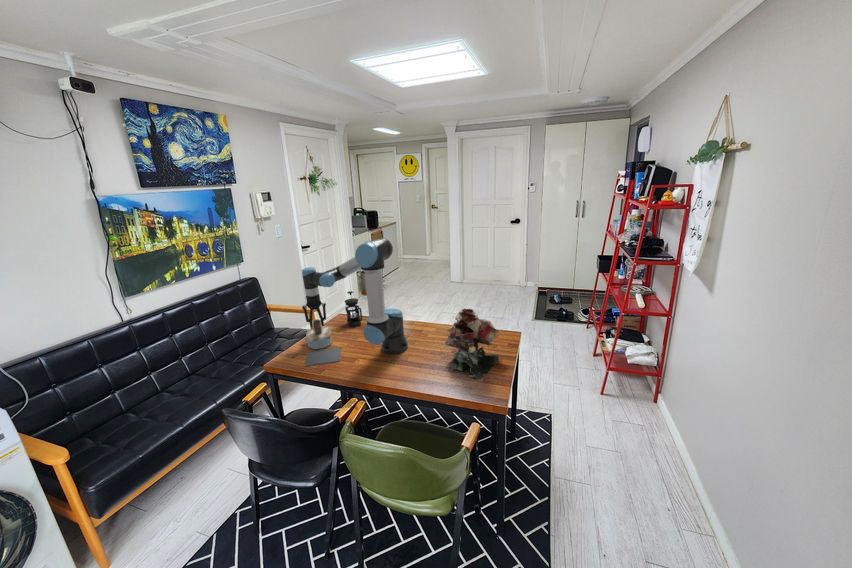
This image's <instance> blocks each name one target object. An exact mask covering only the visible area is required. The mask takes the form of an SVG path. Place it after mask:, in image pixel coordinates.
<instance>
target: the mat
mask: <svg viewBox="0 0 852 568" xmlns="http://www.w3.org/2000/svg"><path fill="white" fill-rule="evenodd" d="M340 361H341V347H334V348H333V347H332V348H327V349H326V348H324V349H317V350H313V351H311V350H310V351H308V352H307V356H306V361H305V367H306V368H307V367H313V366H319V365H327V364H333V363H339V362H340Z"/></svg>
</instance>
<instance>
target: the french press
mask: <svg viewBox="0 0 852 568" xmlns="http://www.w3.org/2000/svg"><path fill="white" fill-rule="evenodd" d="M346 293H347V294H349V296H350V298H347V299H345V300H344V304H345V305H346V307H345V313H346V319H347V320H346V325H347V326H348V327H351V328H354V327H359V326H361V325H362V321H363V314H362V313H363V311H362V308H361V307H360V306H359V305H358V304H359V303H358V302H359V299H358V298H356V297H355V298H354V297H353V298H352V294H353V293H354V291H353V290H351V291H347V292H346ZM349 308H351V309H349ZM353 308H354V309H353Z"/></svg>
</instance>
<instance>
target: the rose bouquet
mask: <svg viewBox="0 0 852 568" xmlns="http://www.w3.org/2000/svg"><path fill="white" fill-rule="evenodd" d="M454 320H455V322H454V323H452V325H451V326H450V327H449V329H447V330H446V331H447V332H448V333H447V334H446V335H447V338H446V340H445V341H444V342H445V343H444V345H445V346H446V347H451V348H455V349H457V351H456V352H453V356H452V359H451V361H450V362H448V365H450V364H451V367H450V370H451V371H454V370H458V371H461V372H464V373H466V374H468V371H467V370H466V368H467V367H470V368H469V369H470V370H469V372H470V373H472V375H468V377H470V378H471V379H472V378H473V379H475V380H477V381H478V380H481V379H483V378H484V377H485V375H487V374H489V373H490V371H491V368H492V367H494V366H495V364H497V361H498V359H499V355H498V354H495V355H493V354H486V352H485V350H484V348H483V346H481V347H480V348H479V344H483V345H486V346H493V342H494V339H496V336H497V335H498V334H499V333H500V331H499V330H498V329H497V328H496V327H495V326H494V324H492V322H491V320H487V319H485V318H483V319H480V318H479V316H478V314H476V311H474V309H472V308H462V309H461V310H459V311H458V312H457V314H456V315H455V318H454ZM473 348H474V350H472V349H473Z"/></svg>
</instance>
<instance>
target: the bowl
mask: <svg viewBox="0 0 852 568" xmlns="http://www.w3.org/2000/svg"><path fill="white" fill-rule="evenodd" d="M331 344H332V337H331V338H330V339H324V340H317V341H310V342H307V345H308V348H310V349H313V350H322V349H326V348H327V347H328V346H330V345H331Z"/></svg>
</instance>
